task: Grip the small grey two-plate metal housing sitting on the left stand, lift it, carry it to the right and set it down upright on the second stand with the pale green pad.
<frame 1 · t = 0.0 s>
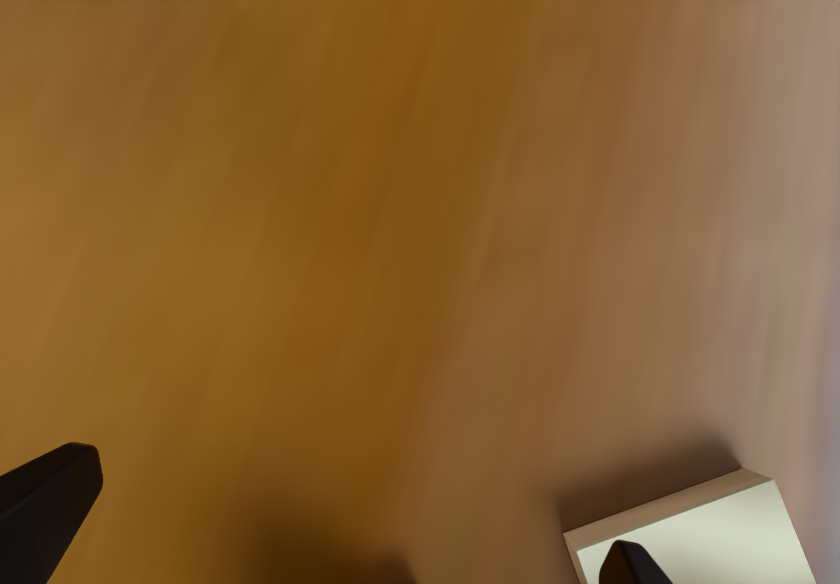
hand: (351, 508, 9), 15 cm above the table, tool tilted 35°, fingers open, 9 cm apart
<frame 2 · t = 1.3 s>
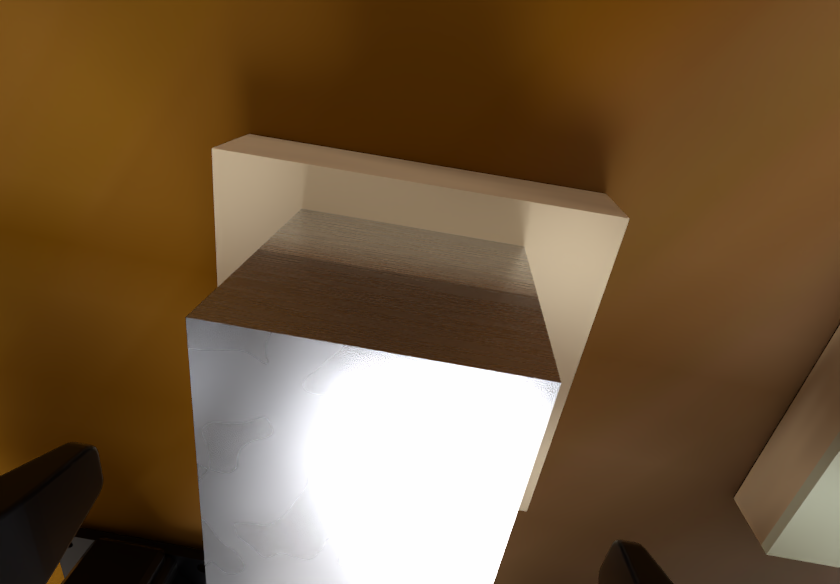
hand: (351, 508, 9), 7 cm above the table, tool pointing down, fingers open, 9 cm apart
housing: (393, 357, 13), point 2 cm above the table, touching stand a
stand a: (403, 319, 14), on the table
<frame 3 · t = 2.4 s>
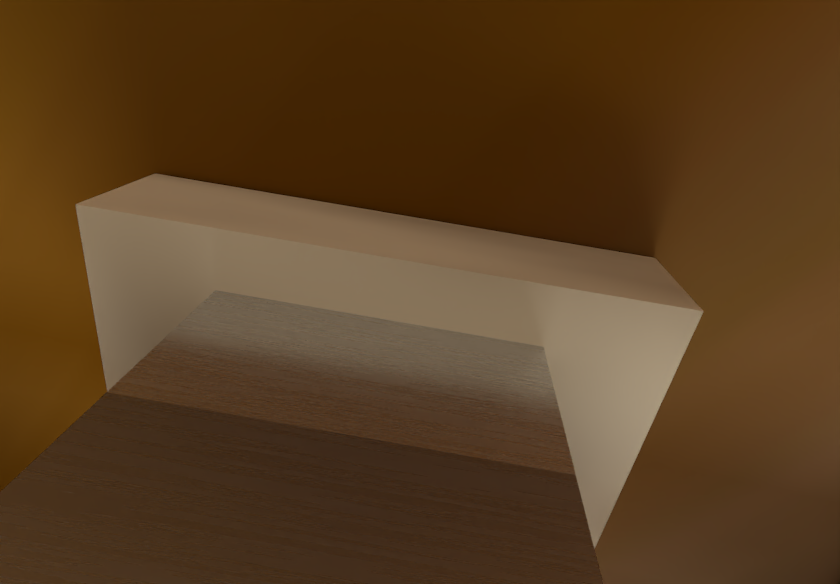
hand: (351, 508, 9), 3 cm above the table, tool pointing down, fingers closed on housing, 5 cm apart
housing: (357, 484, 9), point 2 cm above the table, touching gripper, stand a
stand a: (376, 412, 11), on the table
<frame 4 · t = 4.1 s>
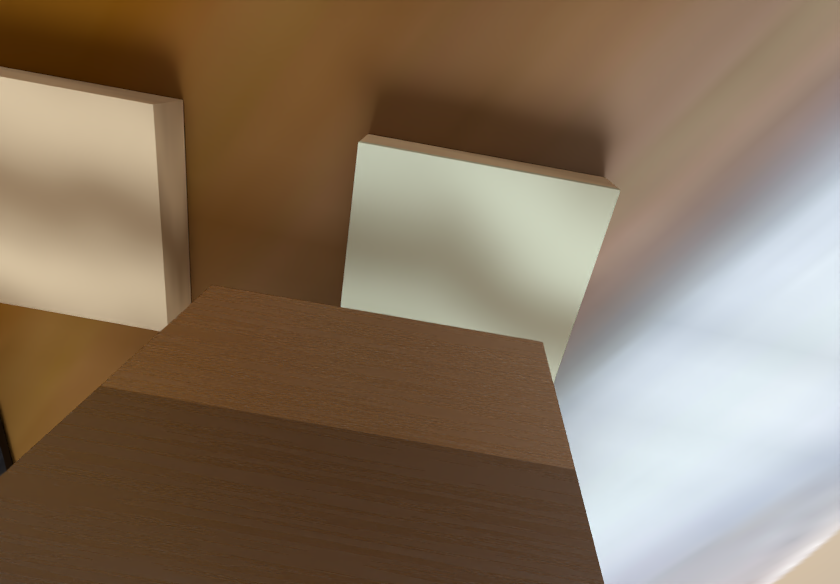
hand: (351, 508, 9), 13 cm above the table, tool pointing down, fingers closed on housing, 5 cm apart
stand b: (462, 265, 20), on the table
housing: (355, 481, 9), point 13 cm above the table, touching gripper
stand a: (79, 195, 20), on the table
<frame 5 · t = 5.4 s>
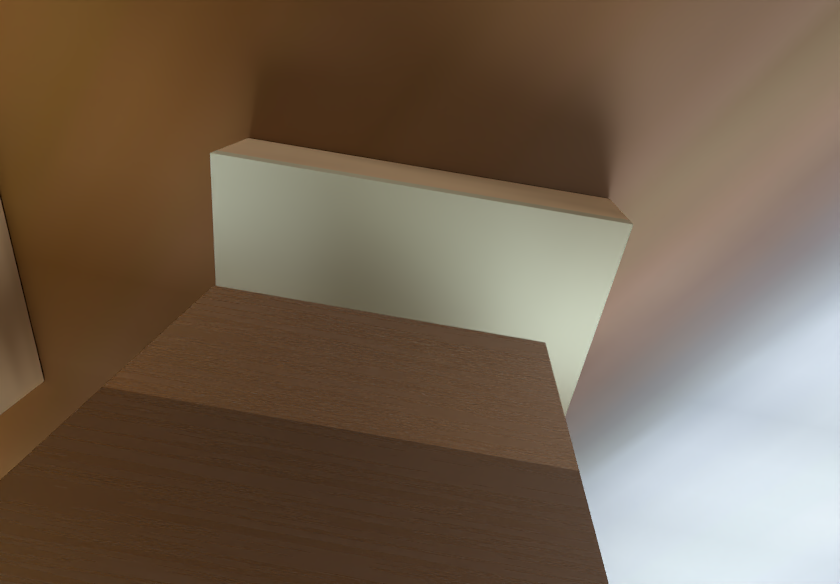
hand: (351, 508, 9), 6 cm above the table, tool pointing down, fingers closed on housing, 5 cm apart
stand b: (403, 324, 14), on the table
housing: (357, 482, 9), point 6 cm above the table, touching gripper
when the fingers open (3 cm above the table, at t = 6.4 s): housing stays where it is, resting on stand b.
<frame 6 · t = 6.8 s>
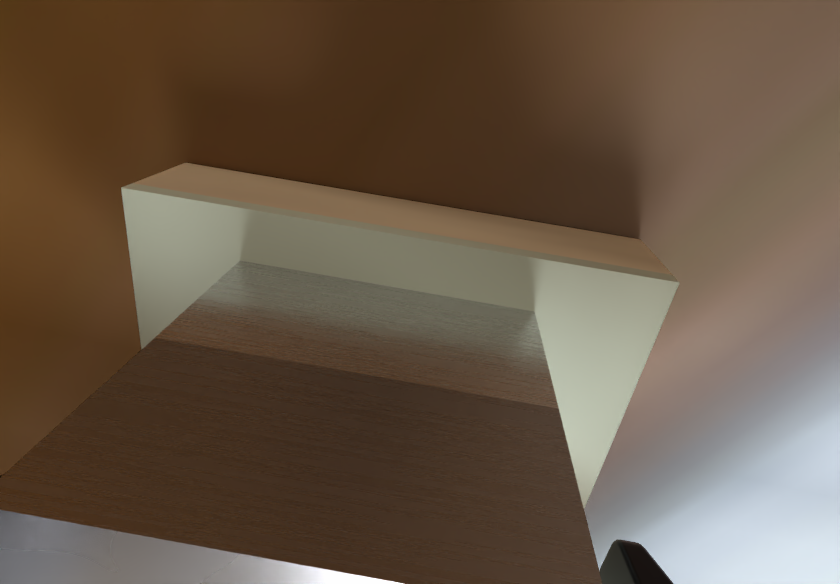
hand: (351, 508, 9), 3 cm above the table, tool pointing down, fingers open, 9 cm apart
stand b: (384, 385, 12), on the table
housing: (366, 442, 10), point 2 cm above the table, touching stand b
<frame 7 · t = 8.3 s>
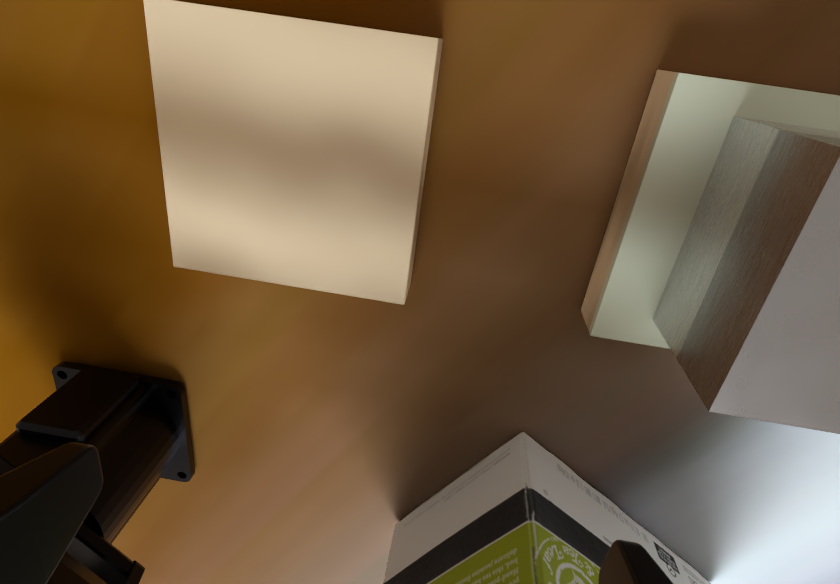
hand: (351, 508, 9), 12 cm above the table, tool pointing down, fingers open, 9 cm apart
tea box: (552, 545, 27), on the table
stand b: (739, 222, 18), on the table
housing: (766, 240, 16), point 2 cm above the table, touching stand b
stand a: (306, 155, 19), on the table
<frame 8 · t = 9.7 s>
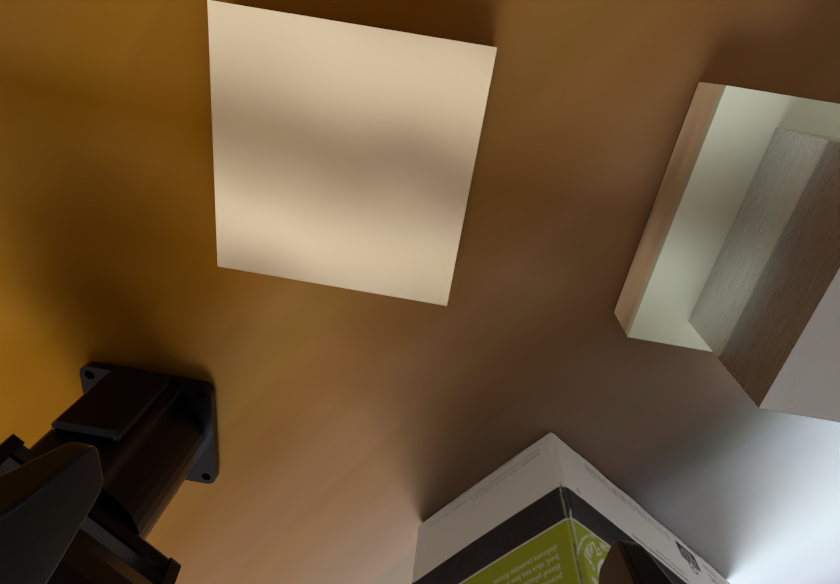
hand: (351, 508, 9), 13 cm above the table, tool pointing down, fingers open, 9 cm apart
tea box: (573, 545, 27), on the table
stand b: (770, 229, 19), on the table
housing: (801, 245, 17), point 2 cm above the table, touching stand b
stand a: (352, 158, 19), on the table
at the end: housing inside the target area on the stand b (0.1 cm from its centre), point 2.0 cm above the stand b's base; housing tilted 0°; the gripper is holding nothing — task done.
